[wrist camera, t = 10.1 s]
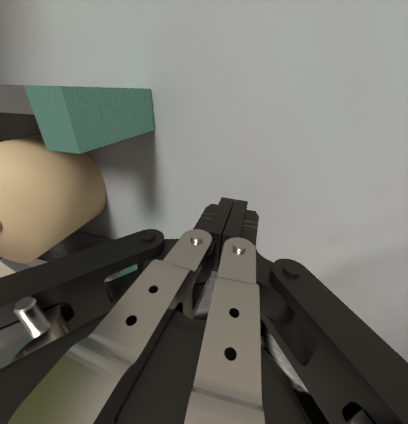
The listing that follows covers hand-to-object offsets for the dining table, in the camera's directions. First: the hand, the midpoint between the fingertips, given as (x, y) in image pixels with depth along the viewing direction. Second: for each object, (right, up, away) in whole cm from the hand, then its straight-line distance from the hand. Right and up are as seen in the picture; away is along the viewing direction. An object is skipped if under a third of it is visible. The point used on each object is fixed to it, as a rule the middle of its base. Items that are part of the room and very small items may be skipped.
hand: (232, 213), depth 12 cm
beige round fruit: (-13, +3, +5) cm, 14 cm away
